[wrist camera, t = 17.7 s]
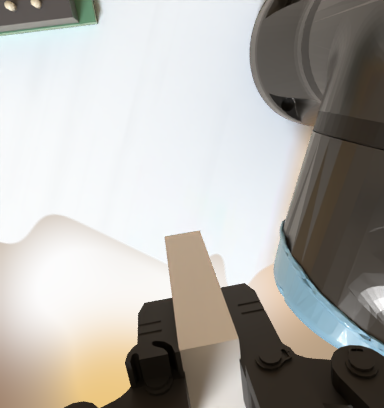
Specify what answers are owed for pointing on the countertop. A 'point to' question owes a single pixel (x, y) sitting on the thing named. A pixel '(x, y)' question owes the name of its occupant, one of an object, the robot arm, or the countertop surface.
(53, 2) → the socket board
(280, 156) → the countertop surface
